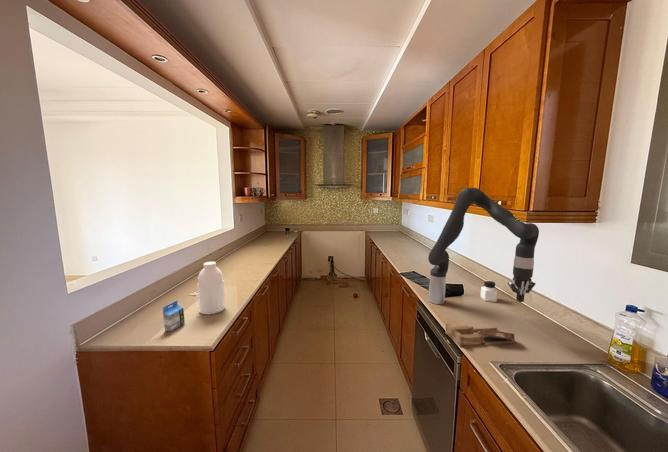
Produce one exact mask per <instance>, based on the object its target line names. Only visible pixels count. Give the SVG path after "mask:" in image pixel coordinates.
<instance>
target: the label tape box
mask: <svg viewBox="0 0 668 452" xmlns="http://www.w3.org/2000/svg"><path fill="white" fill-rule="evenodd" d="M162 314H163V315H162V316H163V323H164V331H165V332H172V331H174V330H176V329H177V328H179V327H181V326H182V325H184V324H185V323H186V321H185V320H186V319H185V312H184V308H183V306H180V305H179V304H178V300H176V301H173V302H171V303H168V304H166V305H164V306H163V307H162Z"/></svg>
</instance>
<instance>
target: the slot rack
mask: <svg viewBox="0 0 668 452" xmlns="http://www.w3.org/2000/svg"><path fill="white" fill-rule="evenodd" d="M478 329H488V330H495V331H499V329H498V327H485V328H484V327H483V328H482V327H481V328H474V326H473V325H472V326H469V325H459V326H458V325H457V326H452V325H451V324H450V323H446V324H445V334H446V335H448V337H449V338H450V339H451V340H452V341H453V342H454V343H456V345H458V346H459V348H463V347H464V346H468V345H469V346H471V345H472V346H473V345H481V344H483V345H484V346H489V345H490V346H491V345H502V344H514V343H516V340H496V341H495V340H494V341H485V342H484V339H485V336H484V335H481V334H478ZM474 332H477V333H474Z"/></svg>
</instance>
